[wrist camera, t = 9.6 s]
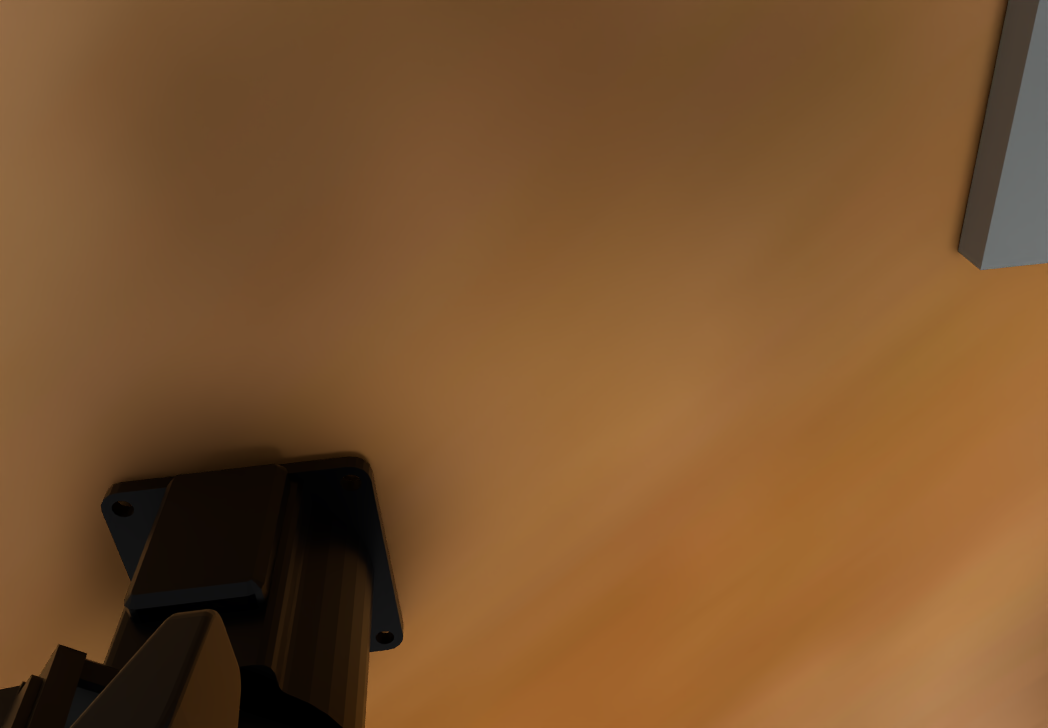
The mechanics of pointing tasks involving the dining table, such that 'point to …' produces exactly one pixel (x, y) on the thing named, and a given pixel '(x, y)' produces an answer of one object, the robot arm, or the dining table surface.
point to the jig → (1013, 150)
